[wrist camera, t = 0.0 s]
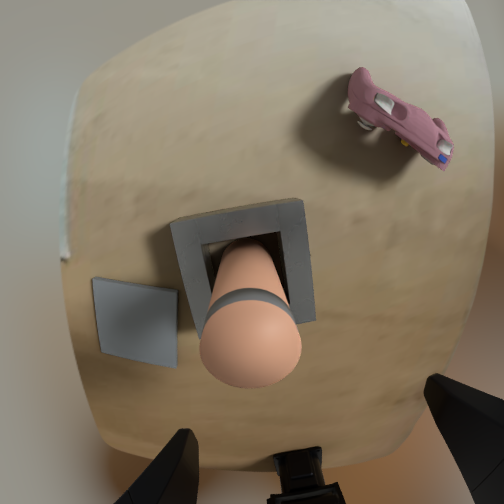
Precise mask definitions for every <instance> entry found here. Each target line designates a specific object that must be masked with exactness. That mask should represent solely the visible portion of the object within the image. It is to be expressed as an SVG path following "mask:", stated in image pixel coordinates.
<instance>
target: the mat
mask: <svg viewBox="0 0 504 504" xmlns="http://www.w3.org/2000/svg"><path fill="white" fill-rule="evenodd" d="M93 291H94V302H95V311H96V320H97V327H98V334H99V340H100V346H101V352H103V353H106V354H110V355H114V356H118V357H122V358H127V359H131V360H135V361H140V362H145V363H150V364H155V365H160V366H165V367H171V368H176V367H177V313H178V290H174V289H167V288H160V287H154V286H147V285H141V284H135V283H129V282H123V281H117V280H111V279H106V278H100V277H94V278H93Z"/></svg>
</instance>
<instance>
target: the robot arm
mask: <svg viewBox="0 0 504 504" xmlns="http://www.w3.org/2000/svg"><path fill="white" fill-rule="evenodd" d="M424 397H425V399H426V401H427V404H428V406H429V408H430V411H431V413H432V416H433V418H434V421H435V423H436V425H437V427H438V429H439V431H440V433H441V434H442V436H443V438H444V440H445V442H446V444H447V445H448V448H449V449H450V451H451V453H452V455H453V457H454V459H455V461H456V463H457V465H458V467H459V469H460V471H461V473H462V476H463V478H464V480H465V482H466V484H467V486H468V488H469V490H470V493H471V495H472V498H473V500H474V502H475V504H504V400H503V399H500V398H498V397H495V396H492V395H490V394H487V393H485V392H482V391H480V390H477V389H475V388H472V387H470V386H467V385H465V384H462V383H460V382H458V381H455V380H453V379H450V378H448V377H445V376H443V375H441V374H438V373H435V374H433V375H431V376H429V377H428V378H427V381H426V384H425V388H424ZM273 459H274V463H275V467H276V471H277V474H278V476H280V482H281V491H282V494H271V495H270V497H271V498H269V499H267V504H346V503H345V500H344V497H343V495H342V492H341V490H340V487H339V485H338V482H335V483H333V484H329V485H325V482H324V478H323V474H322V470H321V464H322V448H321V447H315V448H310V449H305V450H300V451H295V452H289V453H283V454H276V455H274V456H273ZM198 485H199V446H198V441H197V439H196V437H195V435H194V433H193V432H192V430H191V429H189V428H185V429H179V430H178V431H177V432H176V434H175V435H174V436H173V437H172V438H171V440H170V441H169V442H168V443H167V444H166V446H165V447H164V448H163V449H162V450H161V452H160V453H159V454H158V455H157V456H156V458H155V459H154V460H153V461H152V462H151V463H150V465H149V466H148V467H147V468H146V469H145V470H144V472H143V473H142V474H141V475H140V476H139V477H138V478H137V479H136V480H135V482H134V483H133V484H132V485H131V486H130V487H129V488H128V490H126V492H125V493H124V494H123V495H122V496H121V497H120V498H119V499H118V500H117V501H116V502H115V503H114V504H196V502H197V493H198Z"/></svg>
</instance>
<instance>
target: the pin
mask: <svg viewBox="0 0 504 504" xmlns="http://www.w3.org/2000/svg"><path fill="white" fill-rule="evenodd" d="M300 355H301V338H300V335H299V332H298V328H297V326H296V323H295V320H294V317H293V314H292V312H291V310H290V307H289V305H288V302H287V299H286V296H285V294H284V291H283V288H282V285H281V282H280V280H279V277H278V274H277V272H276V269H275V266H274V263H273V261H272V258H271V255H270V253H269V251H268V249H267V248H266V247H265V246H264V245H263V244H262V243H261V242H259V241H257V240H254V239H249V238H244V239H239V240H236V241H234V242H232V243H231V244H230V245H229V246H228V247H227V248H226V249H225V251H224V253H223V255H222V258H221V262H220V266H219V270H218V273H217V277H216V281H215V285H214V289H213V293H212V297H211V300H210V304H209V308H208V312H207V315H206V318H205V322H204V326H203V330H202V334H201V340H200V356H201V359H202V362H203V364H204V365H205V367H206V369H207V370H208V371H209V372H210V373H211V374H212V375H213V376H214V377H215V378H217V379H218V380H220V381H222V382H224V383H226V384H228V385H231V386H234V387H239V388H260V387H265V386H268V385H271V384H274V383H276V382H278V381H280V380H281V379H283V378H284V377H286V376H287V375H288V374H289V373H290V372H291V371H292V370H293V369H294V367H295V366H296V364H297V362H298V360H299V358H300Z"/></svg>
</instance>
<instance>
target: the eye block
mask: <svg viewBox="0 0 504 504" xmlns="http://www.w3.org/2000/svg"><path fill="white" fill-rule="evenodd" d="M170 228H171V232H172V237H173V241H174V246H175V250H176V254H177V259H178V263H179V267H180V271H181V275H182V279H183V283H184V287H185V291H186V294H187V298H188V302H189V305H190V309H191V313H192V316H193V320H194V323H195V326H196V330H197V333H198V337H199V339H201V334H202V330H203V326H204V322H205V318H206V315H207V312H208V308H209V304H210V300H211V297H212V293H213V289H214V285H215V281H216V280H215V275H214V271H213V266H212V261H211V257H210V252H209V247H208V243H213V242H219V241H224V240H230V239H236V238H242V237H248V236H254V235H260V234H265V233H271V232H276V233H277V239H278V246H279V253H280V260H281V267H282V274H283V282H284V289H283V291H284V294H285V296H286V299H287V302H288V305H289V307H290V310H291V312H292V314H293V317H294V320H295V323H296V324H301V323H306V322H311V321H316V314H315V302H314V290H313V280H312V270H311V260H310V251H309V242H308V234H307V226H306V218H305V211H304V203H303V200H301V199H298V198H288V199H282V200H275V201H269V202H263V203H257V204H251V205H245V206H239V207H233V208H227V209H222V210H216V211H211V212H206V213H201V214H195V215H190V216H185V217H180V218H178V219H176V220H175V221H173V222H171V223H170Z"/></svg>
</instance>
